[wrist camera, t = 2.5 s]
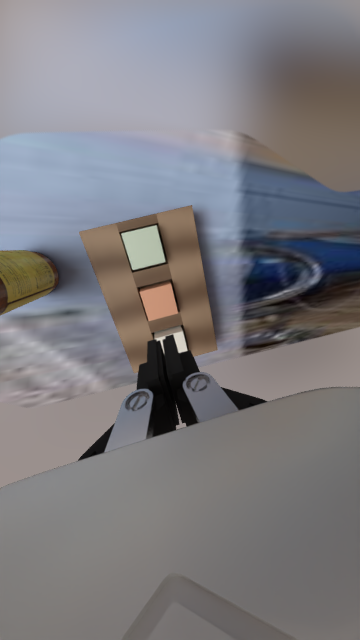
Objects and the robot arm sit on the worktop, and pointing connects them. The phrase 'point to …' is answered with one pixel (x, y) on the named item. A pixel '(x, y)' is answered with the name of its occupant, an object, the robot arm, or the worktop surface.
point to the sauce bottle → (24, 278)
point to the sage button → (143, 247)
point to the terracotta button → (158, 300)
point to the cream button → (177, 336)
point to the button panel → (153, 282)
